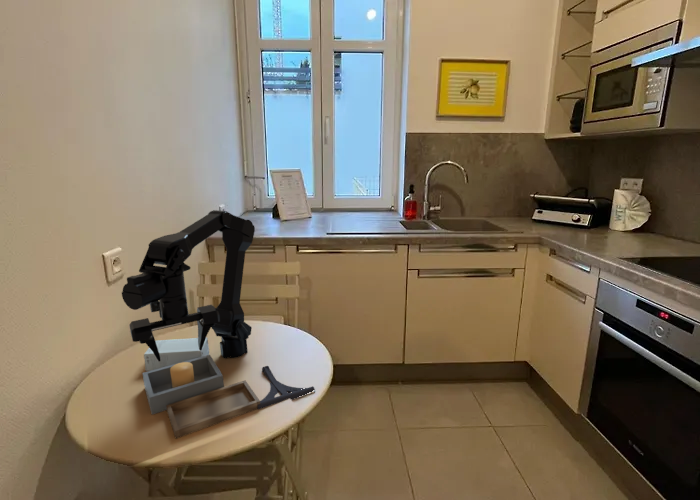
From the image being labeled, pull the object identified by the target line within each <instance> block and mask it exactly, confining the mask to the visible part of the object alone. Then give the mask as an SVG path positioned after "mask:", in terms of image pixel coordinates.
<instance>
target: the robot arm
mask: <svg viewBox="0 0 700 500" xmlns="http://www.w3.org/2000/svg"><path fill="white" fill-rule="evenodd" d="M255 227H256V226H255V225H254V224H253V222H252V221H251V220H250V219H245V218H242V217H240V216H237V215H234V214H232V213H230V212H229V211H226V210H219V209H218V210H217V209H213V210H211V211H209V212H208V213H207V215H205V216H203V217H201V218H200V219H198V220H197V221H195V222H193V223H192V224H190V225H188V226H187V227H185V228H184V229H182V230H180V231H179V232H175V233H171V234H170V233H169V234H166V235H162V236H159V237H157V238H154V239H152V240H151V241H150V242H149V243H148V248H147V251H146V254H145V256H144V257H143V260H142V262H141V264H140V267H139V270H138V272H139V273H140V274H137V275H130V276H128V277H126V284H124V285H123V288H122V291H121V297H122V299H123V302H124V303H125V305H126V306H127V307H128V308H129V309H132V310H134V311H136V310H140V309H142V308H144V307H146V306H149V308H150V312H151V313H155V312H157V313H158V312H159V317H160V319H161V320H157V321H153V322H150V320H149V318H147V317H145V318H141V319H137V320H133V321H131V322H130V323H129V326H128V327H129V332H130V335H131V336H130V337H131V340H132V342H134V343H135V342H136V343H137V342H139V344H146V346H147V347H148V348H150V349H151V350H152V351H153V353H154V355H155V356H156V358H157V360H158V361H160V355H159V351H158V348H157V345H156V342H155V341H156V338H155V337H154V334H153V332H155V331H159V330H164V329H168V328H171V327H172V328H173V327H177V326H182V325H187V324H189V323H193V322H196V323H197V338H198V346H199V350H202V347H203V345H204V342H205V339H206V337H208V335H209V332H210V330H213V332H214V334H215V336H216V337H220V338H221V340H220V342H219V347H220V355H221V357H222V358H223V359H236V358H241V357H242V356H244V355H245V354H247V353H248V341H247V340H248V339H249V336H251V334H252V326H250V324H248V323H246V322H245V313H244V312H245V311H244V310H243V308H242V306H241V303H240V302H241V292H242V284H243V277H244V276H243V275H244V268H245V266H244V265H245V258H246V251H247V250H248V249H249V248H250V246H251V245H252V243H253V242H254V237H255V231H256V230H255ZM217 232H220V233H221V236H222V237H221V239H222V241H223V242H222V243H223V244H224V247H225V249H226V255H225V264H224V273H223V280H222V287H221V297H220V298H221V300H220V303H219V304H218V305H217V306H216V307H215V305H213V304H208V305H203V306H199V307H197V308H196V312H194V313H193V312H192V313H190V314H189V310H188V309H189V308H188V307H189V306H188V300H187V299H188V298H187V292H186V291H187V290H186V283H185V275H184V274H185V272H187V271H189V270H191V266H189V265H188V264H186V263H185V262H186V260H188V258H189V257H190V256H191V255H192V251H193V249H195V247H196V246H198V245H199V244H201V243H203V242H204V241H206V239H208V238H210V237H211V236H213V235H214V234H216V233H217ZM160 265H161V266H160Z"/></svg>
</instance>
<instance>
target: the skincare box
mask: <svg viewBox="0 0 700 500" xmlns="http://www.w3.org/2000/svg"><path fill="white" fill-rule="evenodd" d="M208 339H209V338H208V336H206V339H205V342H204V345H203V347H202V350H199V346H198V337H191V338H177V339H176V338H175V339H162V340H161V339H159V340H155V342H156V345H157V348H158V351H159V355H160V361H158V360H157V358H156V356H155V355H154V353H153V351H152V350H151V349H150V348H149V347H148V348H147V350H146V351H145V352H144V354H143V358H144V359H143V360H144V368H145V369H144V370H145V372H148V371H151V370H155V369H159V368H162V367H166V366H170V365H173V364H177V363H181V362H184V361H188V360H192V359H195V358H199V357H203V356H206V355H210V348H209V340H208Z"/></svg>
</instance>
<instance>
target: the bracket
mask: <svg viewBox="0 0 700 500" xmlns="http://www.w3.org/2000/svg"><path fill="white" fill-rule="evenodd" d="M261 372H262V373H264V374H263V375H264V376H265V377H266V378H267V380H269V383H270V388H269V392H268V393H267V394H266V395H265V396H264V397H263V399H261V400H260V404H259V405H258V409H257V410H261V409H263V408H264V409H265V408H267V407H270V406H272V405H274V404H278V403H280V402H283V401H286V400H291V399H293V400H295V399H294V398H296V399H298V398H297V397H299V396H302V395H305V394H307V393H309V392H312V391H313V390H315V389H316V388H315V387H314V386H309V387H296V386H295V387H294V386H290V385H286V384H284V383H282V382H280V381H278V380H277V379H276V378H275V377H276V376H275V375H274V374H273V372H272V370H271V369H270V366H268V365H265V366H262V368H261ZM303 388H305V389H303ZM301 389H302V390H301ZM315 391H316V390H315ZM291 392H292V393H291ZM277 394H280V395H279V396H276V395H277ZM305 396H306V395H305ZM302 397H303V396H302ZM299 398H300V397H299Z"/></svg>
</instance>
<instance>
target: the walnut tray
mask: <svg viewBox="0 0 700 500" xmlns="http://www.w3.org/2000/svg"><path fill="white" fill-rule="evenodd" d="M260 401H261V400H260V399H259V398H258V395H257V394H256V393H255V391H254V390H253V389H252V387H251V386H250V385H249V383H248V381H247V380H242V381H239V382H236V383H232V384H229V385H226V386H224V387H223V388H219V389H216V390H213V391H210V392H207V393H204V394H201V395H198V396H194V397H191V398H188V399H185V400H182V401H179V402H176V403H172V404H169V405H166V408H167V410H166V413H167V417H168V419H169V422H170V426H171V429H172V432H173V435H174V437H175V438H174V439H178V438H181V437H184V436H187V435H189V434H192V433H196V432H199V431H200V430H204V429H207V428H209V427H211V426H215V425H217V424H220V423H224V422H226V421H229V420H231V419H233V418H236V417H240V416H242V415H245V414H247V413H250V412H253V411H255V410H258V405H259V404H260Z"/></svg>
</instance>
